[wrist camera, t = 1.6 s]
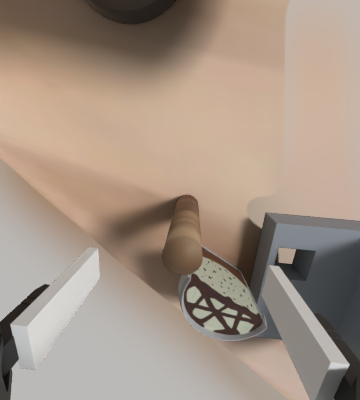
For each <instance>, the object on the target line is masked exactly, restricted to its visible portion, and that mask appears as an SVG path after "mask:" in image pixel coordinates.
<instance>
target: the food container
mask: <svg viewBox="0 0 360 400" xmlns="http://www.w3.org/2000/svg"><path fill="white" fill-rule="evenodd" d="M202 254H203V261H202V264H201V266H200V268H199V269H198V270H197V271H195V272H194V273H192V274H188V275H181V277H180V281H179V285H178V293H179V300H180V305H181V308H182V311H183V313H184V315H185V317H186V319H187V321H188V322H189V323H190V325H191V326H193V327H194V328H195V329H196V330H197V331H199V332H200V333H201V334H204V335H206V336H208V337H211V338H213V339H217V340H223V341H238V340H244V339H248V338H251V337H254V336H256V335H258V334H260V333H261V332H263V331H264V330H266V329H267V326H266V325H267V323H266V319H265V316H264V315H263V316H262V315H261V313H260V311H259V309H258V306H257V304H256V302H255V300H254V298H253V296H252V294H251V291H250V289H249V287H248V285H247V283H246V281H245V279H244V276H243V274H242V272H241V270H239V269H238V268H236V267H235V266H233V265H232V264H230V263H229V262H227V261H226V260H224V259H222V258H221V257H219V256H218V255H216V254H215V253H213V252H212V251H210V250H209V249H207V248H205V247H204V246H202Z"/></svg>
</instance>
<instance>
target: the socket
mask: <svg viewBox="0 0 360 400" xmlns="http://www.w3.org/2000/svg"><path fill="white" fill-rule="evenodd" d="M279 247H281V248H291V249H296V252H295V256H294V259H293V263H292V264H284V263H275V259H276V256H277V252H278V248H279ZM269 265H271V266H279V267H280V268H281V270H282V271H283V272H284V274H285V275H286V277H287V278H288V279H289V281H290V282H291V284H292V285H293V286H294V288H295V289H296V291H297V292H298V293H299V295H300V296H301V298H302V299H303V300H304V302H305V303H306V304H307V306H308V307H309V309H310V310H311V311H312V313H319V314H321V315H322V316H323V317H324V318H325V319H327V320H328V321H329V322H330V323H331V325H332V326H333V327H334V329H335V330H336V332H337V333H338V334H339V335H340V336H341V338H342V340H343V341H345V343H346V344H347V345H348V347H349V348H350V349H351V350H352V352H353V353H354V354H355V356H356V357H357V358H358V359H359V361H360V221H353V220H343V219H332V218H320V217H310V216H298V215H288V214H276V213H266V214H265V218H264V223H263V227H262V231H261V236H260V241H259V245H258V250H257V254H256V259H255V263H254V268H253V272H252V277H251V281H250V286H249V289H250V291H251V294H252V296H253V298H254V300H255V302H256V304H257V306H258V309H259V311H260V313H261V315H262V316H263V315H264V316H265V319H266V323H267V325H266V326H267V329H266V330H264V331H263V332H261V333H260V334H258V335H256V336H255V337H264V338H272V339H281V340H282V338H281V336H280V334H279V332H278V329H277V327H276V325H275V323H274V321H273V319H272V316H271V314H270V312H269V310H268V308H267V306H266V304H265V301H264V299H263V297H262V291H263V287H264V283H265V279H266V274H267V270H268V266H269Z"/></svg>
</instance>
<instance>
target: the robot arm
mask: <svg viewBox="0 0 360 400" xmlns="http://www.w3.org/2000/svg"><path fill="white" fill-rule="evenodd" d="M86 1H87V3H88V4H89V5H90V6H91V7H92V8H93V9H95V10H96V11H97V12H99V13H100V14H101V15H103V16H105V17H107V18H109V19H111V20H113V21H116V22H120V23H127V24H135V23H142V22H146V21H149V20H151V19H153V18H155V17H157V16H159V15H160V14H162V13H163V12H164V11H166V10H167V9H168V8H169V7H170V6H171V5H172V4H173V3H174V2H175V0H86ZM99 278H100V271H99V254H98V248H91V247H88V248H87V249H86V250H85V251H84V252H83V253H82V254H81V255H80V256H79V257H78V258H77V259H76V260H75V261H74V262H73V263H72V264H71V265H70V266H69V267H68V268H67V269H66V270H65V271H64V272H63V273H62V274H61V275H60V276H59V277H58V278H57V279H56V280H55V281H54V282H53V283H52V284H51V285H46V284H44V285H43V286H41V287H39V288H37V289H36V290H34V291H33V292H32V293H31V294H30V295H29V296H28V297H27V299H25V300H23V301H22V302H21V304H20V305H18V306H17V307H16V308H15V309H14V310H13V311H12V312H10V313H9V314H8V315H7V316H6V317H5V318H4V319H3V320H2V321H1V322H0V400H10V396H11V383H12V370H11V368H12V367H13V366H14V364H15V363H16V362H17V361H18V360H19V365H20V368H22V369H30V370H36V369H37V367H38V366H39V364H40V363H41V361H42V360H43V359H44V357H45V356H46V355H47V353H48V352H49V350H50V349H51V347H52V346H53V344H54V343H55V342H56V340H57V339H58V337H59V336H60V334H61V333H62V331H63V330H64V329H65V327H66V326H67V324H68V323H69V322H70V320H71V319H72V317H73V315H74V314H75V313H76V311H77V310H78V309H79V307H80V306H81V304H82V303H83V301H84V300H85V299H86V297H87V296H88V294H89V293H90V291H91V290H92V288H93V287H94V285H95V284H96V283H97V281H98V280H99ZM262 297H263V299H264V301H265V304H266V306H267V308H268V310H269V312H270V314H271V316H272V319H273V321H274V323H275V325H276V327H277V329H278V332H279V334H280V336H281V338H282V340H283V342H284V344H285V347H286V349H287V351H288V353H289V355H290V357H291V360H292V362H293V364H294V366H295V368H296V370H297V372H298V375H299V377H300V379H301V381H302V383H303V385H304V388H305V390H306V392H307V394H308V396H309V398H310V400H334V399H335V400H360V361H359V359H358V358H357V357H356V356H355V354H354V353H353V352H352V350H351V349H350V348H349V347H348V345H347V344H346V343H345V341H343V340H342V338H341V336H340V335H339V334H338V333H337V332H336V330H335V329H334V327H333V326H332V325H331V323H330V322H329V321H328V320H327V319H325V318H324V317H323V316H322V315H321V314H319V313H312V311H311V310H310V309H309V307H308V306H307V304H306V303H305V302H304V300H303V299H302V298H301V296H300V295H299V293H298V292H297V291H296V289H295V288H294V286H293V285H292V284H291V282H290V281H289V279H288V278H287V277H286V275H285V274H284V272H283V271H282V270H281V268H280V267H279V266H271V265H269V266H268V270H267V274H266V279H265V283H264V287H263V291H262Z"/></svg>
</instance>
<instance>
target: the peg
mask: <svg viewBox="0 0 360 400" xmlns="http://www.w3.org/2000/svg"><path fill="white" fill-rule="evenodd" d="M162 259H163V263H164V265H165V266H166V268H167V269H168V270H170V271H171V272H173V273H175V274H178V275H188V274H192V273H194V272H195V271H197V270H198V269H199V268H200V266H201V264H202V261H203V254H202V243H201V232H200V221H199V209H198V202H197V200H196V199H195V198H194V197H193V196H191V195H183V196H181V197H180V198H179V199H178V200H177V203H176V206H175V210H174V214H173V217H172V221H171V225H170V228H169V232H168V236H167V239H166V243H165V247H164V250H163V255H162Z"/></svg>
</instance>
